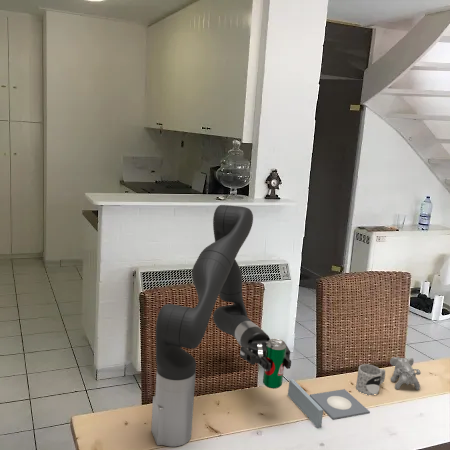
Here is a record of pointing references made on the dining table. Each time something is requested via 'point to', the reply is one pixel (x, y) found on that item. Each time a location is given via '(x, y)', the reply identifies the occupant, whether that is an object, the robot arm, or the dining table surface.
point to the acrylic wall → (305, 403)
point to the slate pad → (339, 404)
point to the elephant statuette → (404, 372)
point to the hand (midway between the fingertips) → (279, 366)
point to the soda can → (275, 363)
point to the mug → (369, 379)
